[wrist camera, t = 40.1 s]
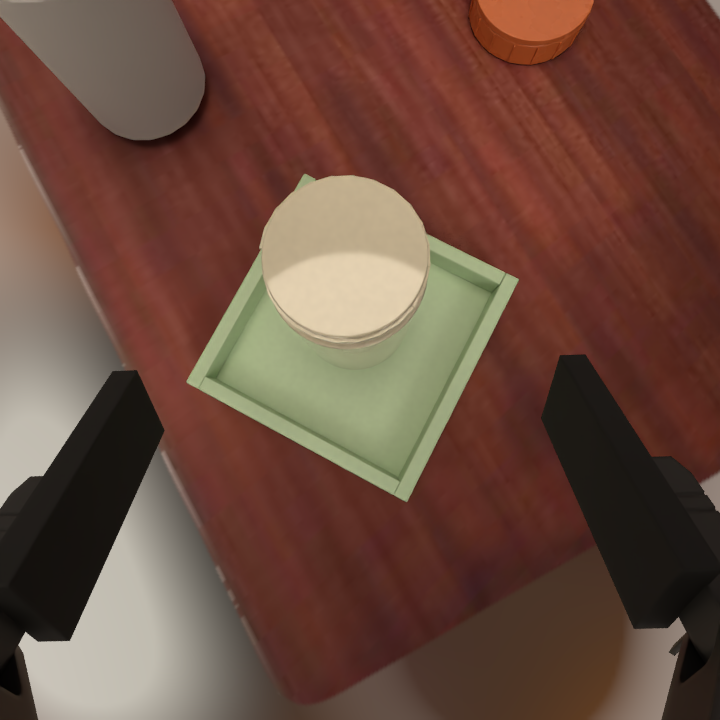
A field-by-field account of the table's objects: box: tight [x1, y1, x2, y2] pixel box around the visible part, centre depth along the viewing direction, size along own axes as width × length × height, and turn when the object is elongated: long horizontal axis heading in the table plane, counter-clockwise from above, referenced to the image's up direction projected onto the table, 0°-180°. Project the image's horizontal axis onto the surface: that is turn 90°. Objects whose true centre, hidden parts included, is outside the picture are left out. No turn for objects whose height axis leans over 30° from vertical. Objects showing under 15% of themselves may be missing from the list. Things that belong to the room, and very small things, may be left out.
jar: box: [259, 175, 431, 370], centre depth 21 cm, size 6×6×11 cm
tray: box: [187, 174, 519, 502], centre depth 26 cm, size 14×14×2 cm
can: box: [0, 0, 205, 140], centre depth 23 cm, size 8×8×12 cm
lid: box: [468, 0, 594, 65], centre depth 28 cm, size 7×7×2 cm
